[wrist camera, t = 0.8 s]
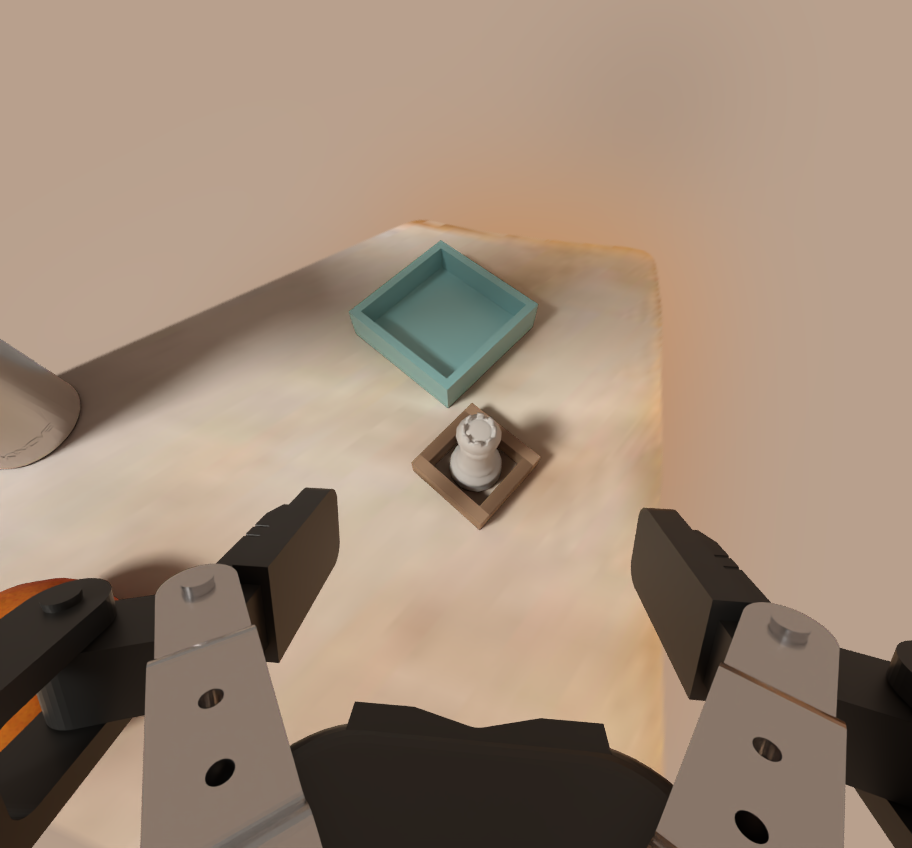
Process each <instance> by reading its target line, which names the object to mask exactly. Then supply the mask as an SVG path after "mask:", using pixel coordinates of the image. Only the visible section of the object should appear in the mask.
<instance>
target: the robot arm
mask: <svg viewBox="0 0 912 848" xmlns="http://www.w3.org/2000/svg"><path fill="white" fill-rule="evenodd" d="M79 412H80V398H79V396H78V393H77V391H76V390H75V389H74V388H73V386H72V385H70V384H68V383H67V382H65V381H64V380H62V379H61V378H59V377H58V376H56V375H55V374H53V373H52V372H50V371H49V370H47V369H46V368H44V367H43V366H41V365H39V364H38V363H36V362H35V361H34V360H32V359H30V358H29V357H28V356H26V355H24V354H23V353H21V352H20V351H18V350H17V349H15V348H13V347H12V346H10V345H9V344H7V343H6V342H4V341H3V340H1V339H0V469H12V468H17V467H21V466H25V465H28V464H30V463H33V462H35V461H37V460H39V459H41V458H43V457H44V456H46V455H47V454H49V453H51V452H52V451H53V450H54V449H55V448H57V447H58V446H59V445H60V444H61V443H62V442H63V441H64V440H65V439H66V438H67V437H68V435H69V434H70V432H71V431H72V429H73V428H74V426H75V424H76V422H77V419H78V417H79ZM339 545H340V539H339V522H338V505H337V495H336V492H335V490H334V489H322V488H304V489H303V490H302V491H301V492H300V494H299V495H298V496H297V497H296V498H295V499H294V500H293V501H292V502H291V503H290V504H289V505H286V504H284V505H282V506H280V507H278V508H276V509H274V510H272V511H270V512H268V513H267V514H266V515H264V516H263V517H262V518H261V519H260V520H259V521H258V522H257V523H256V524H255V527H252V528H251V529H250V530H249V531H248V532H247V533H246V536H243V537H242V538H241V539H240V540H239V541H238V542H237V543H236V544H235V545H234V546H233V547H232V548H231V549H230V550H229V551H228V552H227V553H226V554H225V555H224V556H223V557H222V558H221V559H220V560H219V561H218V562H217V563H216V564H206V565H200V566H196V567H193V568H189V569H187V570H184V571H182V572H180V573H178V574H176V575H174V576H172V577H171V578H169V579H168V580H167V581H165V582H164V583H163V584H162V585H161V586H160V587H159V589H158V590H157V592H156V595H151V596H144V597H137V598H129V599H122V600H114V596H113V592H112V588H111V585H110V583H109V582H107V581H105V580H103V579H97V578H87V579H79V580H74V581H69V582H66V583H62V584H59V585H56V586H54V587H51V588H48V589H46V590H44V591H42V592H40V593H38V594H36V595H34V596H32V597H31V598H29V599H28V600H26V601H25V602H23V603H22V604H20V605H19V606H18V607H16V608H15V609H13V610H12V611H11V612H9V613H8V614H6V615H5V616H4V617H2V618H1V619H0V730H1V728H2V727H3V726H4V725H5V724H6V723H7V722H8V721H9V720H10V719H11V718H12V717H13V716H14V715H15V714H16V713H17V712H18V711H19V710H20V709H21V708H22V707H23V706H25V705H26V704H27V703H28V702H29V701H30V700H31V699H32V698H33V697H34V696H35V695H36V694H37V697H38V700H39V703H40V706H41V709H42V711H41V712H40V713H39V714H38V715H37V716H36V717H35V718H34V719H33V720H32V721H31V722H30V723H29V724H28V725H27V726H26V727H25V728H24V729H23V730H22V731H21V732H20V733H19V734H18V735H17V736H16V737H15V738H14V739H13V740H12V741H11V742H10V743H9V744H8V745H7V746H6V747H5V748H4V749H3V750H2V751H1V752H0V848H32V847H33V845H34V844H35V843H36V842H37V840H38V839H39V838H40V836H41V835H42V834H43V832H44V831H45V830H46V829H47V827H48V826H49V825H50V823H51V822H52V821H53V820H54V818H55V817H56V816H57V814H58V813H59V812H60V810H61V809H62V808H63V807H64V805H65V804H66V803H67V801H68V800H69V799H70V798H71V796H72V795H73V794H74V792H75V791H76V790H77V789H78V787H79V786H80V785H81V783H82V782H83V781H84V779H85V778H86V777H87V776H88V774H89V773H90V772H91V770H92V769H93V768H94V767H95V765H96V764H97V763H98V761H99V760H100V759H101V758H102V756H103V755H104V754H105V752H106V751H107V750H108V748H109V747H110V746H111V745H112V743H113V742H114V741H115V739H116V738H117V737H118V736H119V734H120V733H121V732H122V730H123V729H124V728H125V726H126V725H127V724H128V723H129V721H130V720H131V719H132V718H133V717H138V716H143V715H145V722H144V752H143V783H142V813H141V843H140V848H844V818H845V816H844V815H845V784H846V785H849V786H852V787H854V788H855V789H856V791H857V793H858V794H859V796H860V797H861V799H862V800H863V801H864V803H865V805H866V806H867V807H868V809H869V810H870V812H871V813H872V815H873V816H874V818H875V819H876V821H877V822H878V824H879V825H880V826H881V828H882V830H883V831H884V833H885V834H886V836H887V837H888V838H889V840H890V841H891V843H892V844H893V846H894V847H895V848H912V641H904V642H901V643H899V644H898V645H897V648H896V650H895V652H894V655H893V658H892V660H891V662H890V661H886V660H882V659H879V658H875V657H871V656H868V655H864V654H860V653H856V652H853V651H849V650H846V649H842V648H839V645H838V642H837V640H836V639H835V637H834V636H833V635H832V634H831V633H830V632H829V631H828V630H827V629H826V628H825V627H824V626H823V625H821V624H820V623H818V622H817V621H815V620H814V619H812V618H810V617H809V616H807V615H805V614H803V613H801V612H799V611H796V610H794V609H791V608H788V607H786V606H782V605H778V604H774V603H771V602H770V601H769V600H768V599H767V598H766V597H765V595H764V594H763V593H762V592H761V591H760V590H759V589H758V588H757V587H756V586H755V584H754V583H753V582H752V581H751V580H750V579H749V578H748V577H747V575H746V574H745V573H744V572H743V571H742V570H739V567H738V566H737V564H736V563H735V562H734V561H733V560H732V559H731V558H729V556H728V554H727V553H726V552H725V551H724V550H723V549H722V548H721V547H720V546H719V545H718V543H717V542H715V541H714V540H712V539H710V538H709V537H707V536H706V535H704V534H703V533H701V532H700V531H698V530H692V529H691V528H690V526H688V524H687V523H686V522H685V521H684V519H683V518H682V517H681V516H680V515H679V513H678V512H677V511H676V510H671V509H655V508H643V509H642V510H641V511H640V514H639V518H638V523H637V529H636V535H635V541H634V548H633V554H632V560H631V576H632V581H633V584H634V587H635V589H636V591H637V593H638V595H639V597H640V599H641V601H642V604H643V606H644V608H645V610H646V612H647V614H648V616H649V618H650V620H651V622H652V624H653V626H654V628H655V630H656V632H657V634H658V636H659V638H660V640H661V643H662V645H663V647H664V649H665V651H666V653H667V655H668V657H669V659H670V661H671V663H672V665H673V667H674V669H675V671H676V673H677V675H678V677H679V679H680V681H681V684H682V686H683V687H684V690H685V692H686V694H687V696H688V698H689V699H691V700H703V701H705V704H704V706H703V709H702V712H701V714H700V717H699V720H698V722H697V725H696V728H695V730H694V733H693V735H692V738H691V741H690V743H689V746H688V748H687V751H686V754H685V756H684V759H683V762H682V764H681V767H680V770H679V772H678V775H677V777H676V780H675V783H674V785H672V784H671V783H670V782H669V781H668V780H667V779H665V778H664V777H662V776H661V775H660V774H658V773H657V772H655V771H654V770H653V769H651V768H649V767H648V766H646V765H644V764H643V763H641V762H639V761H637V760H636V759H634V758H632V757H630V756H627V755H625V754H623V753H621V752H619V751H616V750H613V749H611V748H610V747H609V743H608V740H607V736H606V732H605V728H604V724H599V723H588V722H577V721H565V720H554V719H543V718H539V719H533V720H527V721H521V722H515V723H509V724H503V725H496V726H490V727H484V728H474V727H470V726H467V725H464V724H462V723H459V722H456V721H453V720H450V719H447V718H444V717H442V716H439V715H436V714H433V713H430V712H427V711H425V710H422V709H419V708H416V707H409V706H398V705H387V704H376V703H365V702H355V703H354V706H353V709H352V713H351V716H350V719H349V722H348V724H343V725H338V726H335V727H331V728H328V729H324V730H322V731H319V732H317V733H314V734H312V735H309V736H307V737H305V738H303V739H301V740H299V741H298V742H296V743H294V744H292V745H291V746H290V745H289V742H288V738H287V735H286V731H285V727H284V724H283V720H282V717H281V713H280V710H279V706H278V703H277V699H276V696H275V692H274V688H273V685H272V681H271V678H270V674H269V671H268V667H267V664H266V662H274V663H279V662H280V660H281V659H282V657H283V655H284V653H285V652H286V650H287V648H288V646H289V645H290V643H291V641H292V639H293V638H294V636H295V634H296V632H297V631H298V629H299V627H300V625H301V624H302V622H303V620H304V618H305V616H306V615H307V613H308V611H309V609H310V608H311V606H312V604H313V602H314V601H315V599H316V597H317V595H318V594H319V592H320V590H321V588H322V587H323V585H324V583H325V581H326V580H327V578H328V576H329V574H330V573H331V571H332V569H333V567H334V566H335V563H336V561H337V557H338V553H339Z"/></svg>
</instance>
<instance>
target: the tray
mask: <svg viewBox="0 0 912 848" xmlns="http://www.w3.org/2000/svg"><path fill="white" fill-rule="evenodd" d="M537 307H538V304H537V303H535V302H534V301H532V300H531V299H529V298H528V297H526V296H525V295H523V294H522V293H520V292H519V291H517V290H516V289H514V288H513V287H511V286H510V285H508V284H507V283H505V282H504V281H502V280H500V279H499V278H497V277H496V276H494V275H493V274H491V273H490V272H488V271H487V270H485V269H484V268H482V267H481V266H479V265H478V264H476V263H475V262H473V261H472V260H470V259H468V258H467V257H465V256H464V255H462V254H461V253H459V252H458V251H456V250H455V249H453V248H452V247H450V246H449V245H447V244H446V243H444V242H443V241H441V240H440V241H439V242H438V243H437V244H435V245H434V246H433V247H431V248H430V249H429V250H428V251H426V252H425V253H424V254H422V255H421V256H420V257H419V258H417V259H416V260H415V261H413V262H412V263H411V264H410V265H408V266H407V267H406V268H404V269H403V270H402V271H401V272H399V273H398V274H397V275H395V276H394V277H393V278H392V279H390V280H389V281H388V282H386V283H385V284H384V285H383V286H381V287H380V288H379V289H377V290H376V291H375V292H373V293H372V294H371V295H370V296H368V297H367V298H366V299H364V300H363V301H362V302H361V303H359V304H358V305H357V306H355V307H354V308H353V309H352V310H350V311H349V314H350V317H351V320H352V323H353V326H354V329H355V332H356V334H357V335H358V336H359V337H361V338H362V339H363V340H364V341H366V342H367V343H368V344H369V345H371V346H372V347H373V348H374V349H375V350H377V351H378V352H379V353H380V354H382V355H383V356H384V357H385V358H387V359H388V360H389V361H390V362H392V363H393V364H394V365H395V366H396V367H398V368H399V369H400V370H401V371H403V372H404V373H405V374H406V375H408V376H409V377H410V378H411V379H413V380H414V381H415V382H416V383H418V384H419V385H420V386H421V387H422V388H424V389H425V390H426V391H427V392H429V393H430V394H431V395H432V396H434V397H435V398H436V399H437V400H439V401H440V402H441V403H442V404H443V405H445V406H446V407H447V408H449V407H450V406H451V405H452V404H453V403H454V402H455V401H456V400H457V399H458V398H459V397H460V396H461V395H462V394H463V393H464V392H465V391H466V390H467V389H469V388H470V387H471V386H472V385H473V384H474V383H475V382H476V381H477V380H478V379H479V378H480V377H481V376H482V375H483V374H484V373H485V372H486V371H487V370H488V369H489V368H490V367H491V366H492V365H493V364H494V363H496V362H497V361H498V360H499V359H500V358H501V357H502V356H503V355H504V354H505V353H506V352H507V351H508V350H509V349H510V348H511V347H512V346H513V345H514V344H515V343H516V342H517V341H518V340H519V339H520V338H521V337H523V336H524V335H525V334H526V333H527V332H528V331H529V330H530V329H531V328H532V327H533V324H534V320H535V315H536V311H537Z"/></svg>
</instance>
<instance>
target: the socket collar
mask: <svg viewBox="0 0 912 848" xmlns="http://www.w3.org/2000/svg"><path fill="white" fill-rule="evenodd" d="M477 412H479V413H484V412H483V411H482V410H481V409H479V408H478V407H477V406H476V405H474V404H473V403H471V404H470V405H469V406H468V407H467V408H466V409H465V410H464V411H463V412H462V413H461V414H460V415H459V416H458V417H457V418H456V419H455V420H454V421H453V422H452V423H451V424H450V425H449V426H448V427H447V428H446V429H445V430H444V431H443V432H442V433H441V434H440V435H439V436H438V437H437V438H436V439H435V440H434V441H433V442H432V443H431V444H430V445H429V446H428V447H427V448H426V449H425V450H424V451H423V452H422V453H421V454H420V455H419V456H418V457H417V458H415V459H414V460H413V461H412V462H411V463H412V467H413V470H414V472H415V473H416V474H418V475H419V476H420V477H421V478H422V479H423V480H424V481H425V482H427V483H428V484H429V485H430V486H431V487H432V488H433V489H434V490H435V491H437V492H438V493H439V494H440V495H441V496H442V497H443V498H444V499H445V500H447V501H448V502H449V503H450V504H451V505H452V506H453V507H454V508H456V509H457V510H458V511H459V512H460V513H461V514H462V515H463V516H464V517H466V518H467V519H468V520H469V521H470V522H471V523H472V524H473V525H475V526H476V527H477V528H478V529H479V530H480V529H481V528H482V527H483V526H484V525H485V523H486V522H487V521H488V520H489V519H490V518H491V517H492V516H493V514H494V513H495V512H496V511H497V510H498V509H499V508H500V506H501V505H502V504H503V503H504V502H505V501H506V500H507V499H508V497H509V496H510V495H511V494H512V493H513V492H514V491H515V489H516V488H517V487H518V486H519V485H520V484H521V483H522V482H523V480H524V479H525V478H526V477H527V476H528V475H529V474H530V472H531V471H532V470H533V469H534V468H535V467H536V466H537V464H538V462H539V459H540V456H539V455H538V454H537V453H535V452H534V451H533V450H532V449H530V448H529V447H528V446H526V445H525V444H524V443H523V442H521V441H520V440H519V439H518V438H516V437H515V436H514V435H512V434H511V433H510V432H509V431H507V430H506V429H505V428H504V427H502V426H501V425H500V424H498V425H499V427H500V430H501V441H500V443H499V445H498V447H497V448H499V449H500V450H501V451H502V452H504V453H505V454H506V455H507V456H509V457H510V458H511V459H512V460H514V461H515V462H516V463H517V465H516V466H515V468H514V469H513V470H512V471H511V472H510V473H509V474H508V475H507V476H506V477H505V479H504V480H503V481H502V482H501V483H500V484H499V485H498V486H497V487H496V489H495V490H494V491H493V492H492V493H491V494H490V495H489V496H488V497H487V498H486V500H485V501H484V502H483V503H482V504H481V505H480V506H479V505H477V504H476V503H475V502H474V501H473V500H472V499H471V498H469V497H468V496H467V495H466V494H465V493H464V492H463V491H461V490H460V489H459V488H458V487H457V486H456V485H455V484H453V483H452V482H451V481H450V480H449V479H448V478H447V477H445V476H444V475H443V474H442V473H441V472H440V471H439V470H437V469H436V468H435V467H434V466H435V465H436V464H437V463H438V462H439V461H440V460H441V459H442V458H443V457H444V456H445V455H446V454H447V453H448V452H449V451H450V450H451V449H452V448H453V447H454V446H455V445H456V444H457V443H458V441H457V438H456V430H457V427H458V425H459V424H460V422H461V421H462V420H463V419H465V418H466V417H467V416H469V415H470V414H471V415H474V414H477ZM484 415H487V414H486V413H484ZM487 416H488V415H487ZM489 417H490V416H489Z"/></svg>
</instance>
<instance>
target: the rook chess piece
mask: <svg viewBox="0 0 912 848" xmlns="http://www.w3.org/2000/svg"><path fill="white" fill-rule="evenodd" d="M456 438H457V441H458V444H459V445H458V446H457V447H456V448H455V450H454V451H453V453H452V455H451V459H450V467H449V469H450V472H451V476H452V478H453V479H454V481H455V482H456V483H457V484H458V485H459V486H460V487H462V488H464V489H466V490H468V491H477V492H479V491H482V490H486V489H489V488H490V487H491V486H492V485H494V484H495V483H496V482H497V480H498V478H499V477H500V475H501V466H502V460H501V457H500V454H499V451H498V450H497V449H496V448H497V447H498V445H499V443H500V441H501V430H500V427H499V425H498V423H497V422H496V421H495V420H494V419H493V418H492V417H491V416H490V417H489V416H487V415H484V413H479V412H477V414H474V415H471V414H470V415H469V416H467V417H466V418H465V419H463V420H462V421H461V422H460V424H459V425H458V427H457V430H456Z"/></svg>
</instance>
